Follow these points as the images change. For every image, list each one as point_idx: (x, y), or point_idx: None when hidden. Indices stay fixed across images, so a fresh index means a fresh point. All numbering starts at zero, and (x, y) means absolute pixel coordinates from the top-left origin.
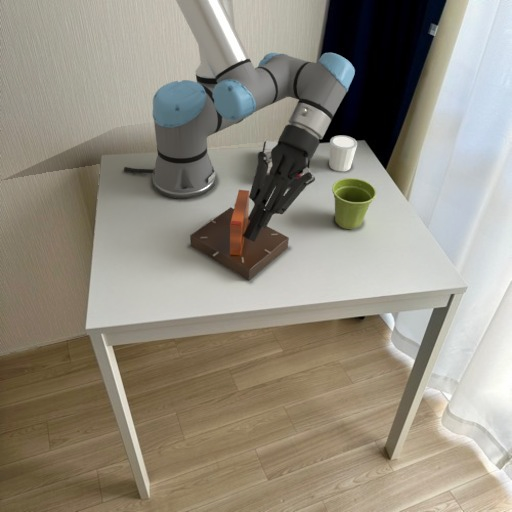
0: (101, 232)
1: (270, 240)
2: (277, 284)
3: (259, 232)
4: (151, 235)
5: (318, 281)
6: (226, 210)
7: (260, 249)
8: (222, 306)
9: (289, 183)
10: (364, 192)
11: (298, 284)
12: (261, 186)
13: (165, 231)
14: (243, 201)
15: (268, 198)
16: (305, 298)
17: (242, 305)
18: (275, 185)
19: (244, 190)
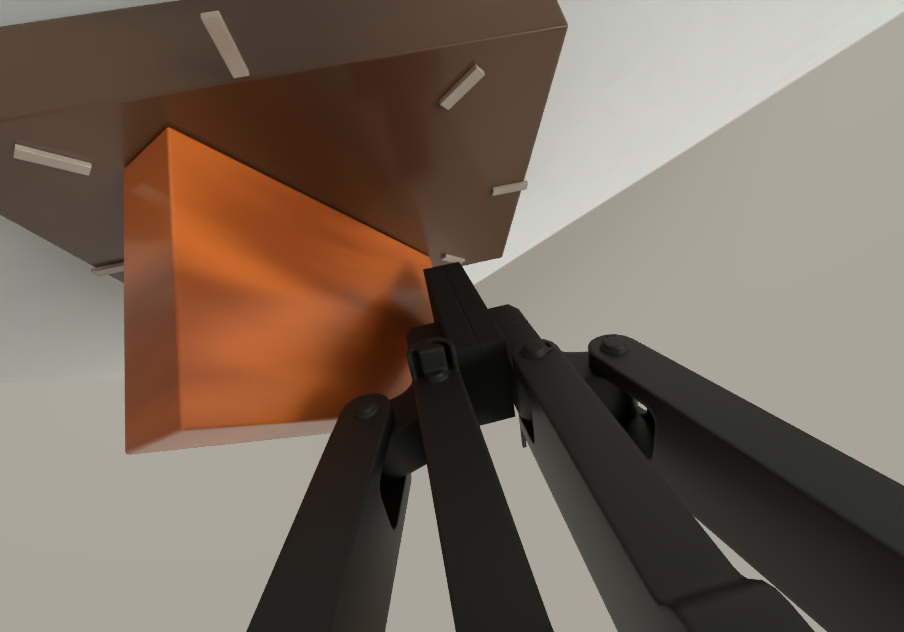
0: (5, 380)
1: (472, 136)
2: (585, 158)
3: (366, 144)
4: (63, 324)
5: (774, 26)
6: None
7: (471, 200)
8: (482, 271)
9: (748, 596)
10: None
11: (669, 105)
12: (372, 528)
13: (41, 302)
14: (314, 425)
15: (477, 424)
16: (706, 128)
17: (523, 247)
18: (520, 544)
19: (162, 442)
